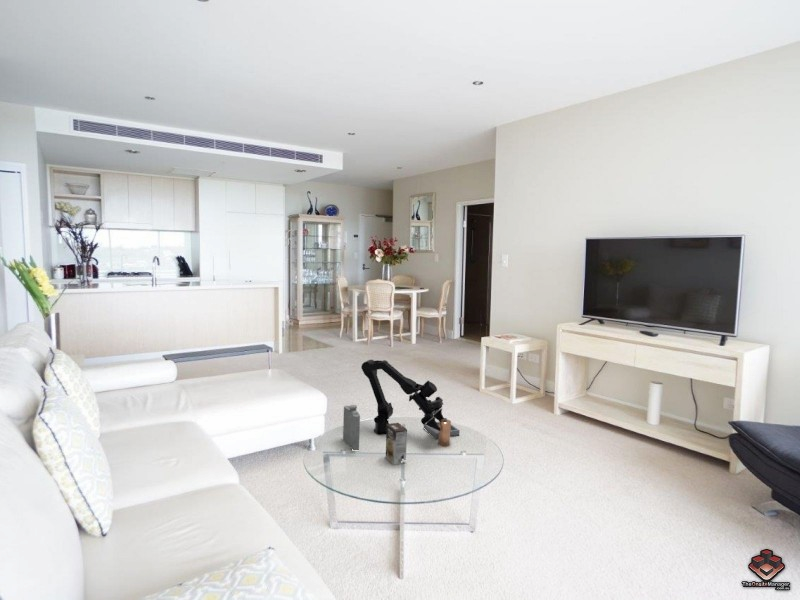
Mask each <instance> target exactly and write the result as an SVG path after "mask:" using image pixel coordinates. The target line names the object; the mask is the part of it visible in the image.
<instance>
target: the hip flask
mask: <svg viewBox="0 0 800 600" xmlns="http://www.w3.org/2000/svg"><path fill="white" fill-rule="evenodd" d="M357 408H358V406H357V405H355V404H350V405H344V406H343V422H342V423H343V426H342V428H343V429H342V430H343V431H342V435H343V436H342V441H343V442H344V443H346V444H347V445H348V446H349V447H350V448H352V449H353V450H359V451H360V429H361V428H360V427H361V424H360V423H361V421H360V419H361V415H360V413H359V411H357ZM352 449H351V450H352Z"/></svg>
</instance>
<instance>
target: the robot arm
mask: <svg viewBox="0 0 800 600" xmlns="http://www.w3.org/2000/svg"><path fill="white" fill-rule="evenodd" d="M378 370H382V371H383V372H384V373H386V374H387V375H388V376H389V377H390V378H391V379H393V380H394V381H395V382H396V383H398V385H399V387H400V389H401V390H402V391H403V392H404V393H405V394H406V395H409V396H408V401H409V402H412V401H413V402H415V404H416V405H417V407H419V408H418V410H419V411H422V412H423V417H422V418H420V419H421V421H420V422H421V424H422V425H423V426H424V424H425V425H428V426H430V427H432V428H434V429H436V430H438V431H440V430H441V429H440V427H439V426H438V424H437V422H438V421H439V420H441V419H444V418H445V417H444V415H443V414H442V413H443V406H444V402H443V401H444V399H442V398H441V397H440V396H436V397H435V400H433V401H432V400H431V399H428V398H430V397H431V396H433V395H434V394H435V393H436V392H438V387H437V386H436V384H435V383H433V382H431V381H430V380H427V381H425V383H424V384H420V383H417V382H416V381H415V380H413V379H411V378H408V377H406V376H405V375H403V374H402V372H400V371H399V370H397V369H396V368H395V367H393V365H392V364H390V363H389V362H388V361H387V360H385V359H383V360H380V359H379V360H374V359H368V360H366V361H364V362H363V363H361V371H362V372H363V375H364V376H366V378H367V379H368V381H369V384H370V387H371V389H372V392H373V395H374V398H375V401H376V404H377V415H376V416H375V417H374V418H373V421H374V425H375V426H374V428H373V431H374V433H376V434H377V435H384V434H385V435H386V432H387V424H390V422H389V419H390V418H391V417H392V416H393V414H394V407H393V406H392V402H388V401H387V400H386V397H385V394H384V392H383V388H382V386H381V383H380V380H379V377H378ZM436 420H437V421H436Z"/></svg>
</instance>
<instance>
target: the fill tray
mask: <svg viewBox="0 0 800 600" xmlns="http://www.w3.org/2000/svg"><path fill="white" fill-rule="evenodd" d="M436 422H437V424H438V426H439V421H436ZM425 424H426V423H425ZM425 424H424V425H423V429H424V428H425V429H426V430H427V431H428V432H429V433H430V434H431V435H432V436H433V437H432V436H431V435H430V434H429V433H428V432H427V433H428V434H429V435H430V436H431V437H432V438H434V439H435V440H438V436H439V431H438V430H436V429H434V428H432V427H430V426H428V425H425ZM459 436H460V429H459V428H457V427H456V426H454V425H453V424H451V429H450V438H452V437H453V438H454V437H459Z"/></svg>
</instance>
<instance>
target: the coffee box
mask: <svg viewBox="0 0 800 600" xmlns="http://www.w3.org/2000/svg"><path fill="white" fill-rule="evenodd" d="M385 435H386V437H385V438H386V439H385V458H386V459H387V461H389V462H390V463H391V464H392V465H394V466H396V465H401V461H402V459H404V460H407V459H406V458H407V445H408V444H407V443H408V440H407V439H408V429H407V428H406V427H405V426H404V425H402V424H401V423H399V422H393V423H392V422H391V423H389V424H387V432H386V434H385Z"/></svg>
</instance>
